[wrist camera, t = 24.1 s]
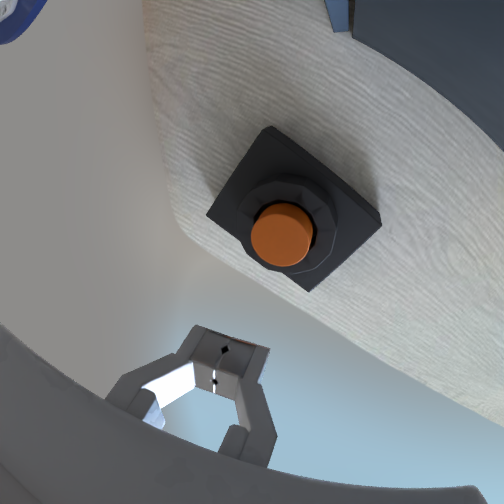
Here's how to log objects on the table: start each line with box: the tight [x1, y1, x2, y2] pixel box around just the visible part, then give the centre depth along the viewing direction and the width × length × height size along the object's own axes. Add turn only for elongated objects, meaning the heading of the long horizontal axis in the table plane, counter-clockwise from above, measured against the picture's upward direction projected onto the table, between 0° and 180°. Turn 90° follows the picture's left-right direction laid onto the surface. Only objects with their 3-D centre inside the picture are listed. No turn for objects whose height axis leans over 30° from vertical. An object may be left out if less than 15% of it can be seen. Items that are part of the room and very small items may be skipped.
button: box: [251, 203, 313, 266], centre depth 18 cm, size 4×4×2 cm
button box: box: [206, 126, 382, 292], centre depth 21 cm, size 10×8×4 cm
